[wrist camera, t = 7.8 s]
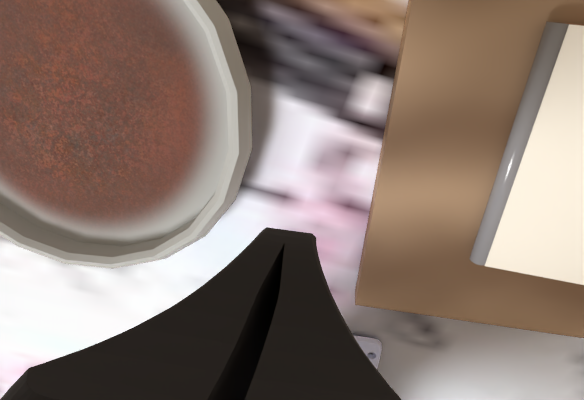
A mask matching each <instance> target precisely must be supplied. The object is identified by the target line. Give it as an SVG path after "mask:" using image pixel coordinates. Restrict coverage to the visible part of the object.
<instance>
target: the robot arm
mask: <svg viewBox="0 0 584 400" xmlns="http://www.w3.org/2000/svg"><path fill="white" fill-rule="evenodd" d="M371 352H372V353H374V354H369V353H371ZM381 352H382V344H381V342H380V341H379V340H378V339H375V338H368V337H362V336H355V335H352V333H351V331H350V330H349V328H348V326H347V324H346V323H345V321H344V319H343V317H342V315H341V313H340V311H339V309H338V307H337V305H336V303H335V301H334V299H333V297H332V294H331V292H330V290H329V287H328V285H327V282H326V279H325V276H324V274H323V271H322V268H321V264H320V261H319V257H318V252H317V247H316V237H315V236H314V235H313V234H311V233H303V232H296V231H288V230H281V229H273V228H265V229H264V230H263V231H262V232H261V233H260V234H259V235H258V236H257V237H256V238H255V239H254V240H253V241H252V242H251V243H250V244H249V245H248V246H247V247H246V248H245V249H244V250H243V251H242V252H241V253H240V254H239V255H238V256H237V257H236V258H235V259H234V260H233V261H232V262H231V263H230V264H228V265H227V266H226V267H225V268H224V269H223V270H222V271H220V272H219V273H218V274H217V275H215V276H214V277H213V278H212V279H210V280H209V281H208V282H207V283H205V284H204V285H203V286H202V287H200V288H199V289H198V290H196V291H195V292H193V293H192V294H191V295H189V296H188V297H186V298H185V299H183V300H182V301H180V302H179V303H177V304H175V305H174V306H172V307H171V308H169V309H167V310H165V311H164V312H162V313H160V314H158V315H156V316H154V317H152V318H151V319H149V320H147V321H145V322H143V323H141V324H140V325H138V326H136V327H134V328H131V329H129V330H127V331H125V332H123V333H121V334H119V335H116V336H114V337H112V338H109V339H107V340H105V341H102V342H100V343H98V344H95V345H93V346H90V347H88V348H85V349H83V350H80V351H77V352H74V353H71V354H69V355H66V356H63V357H60V358H57V359H54V360H52V361H49V362H46V363H43V364H40V365H37V366H34V367H31V368H29V369H28V370H27V371H26V372H25V373H24V374H23V375H22V376H21V377H20V378H19V379H18V380H17V381H16V382H15V383H14V384H13V385H12V386H11V388H10V389H9V390H8V391H7V392H6V393H5V395H4V396H3V397H2V398H1V399H0V400H401V399H400V397H399V396H398V395H397V394H396V393H395V392H394V391H393V389H392V388H391V387H390V386H389V385H388V384H387V382H386V381H385V380H384V378H383V377H382V376H381V374H380V373H379V372H378V370H377V368H378V364H379V360H380V356H381Z"/></svg>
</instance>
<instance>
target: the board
mask: <svg viewBox="0 0 584 400" xmlns="http://www.w3.org/2000/svg"><path fill="white" fill-rule="evenodd" d="M546 21H549V22H560V23H571V24H582V25H584V0H409V1H408V7H407V12H406V18H405V23H404V29H403V34H402V39H401V45H400V50H399V56H398V61H397V66H396V72H395V77H394V83H393V88H392V94H391V99H390V104H389V110H388V115H387V121H386V126H385V131H384V137H383V142H382V148H381V153H380V159H379V164H378V169H377V175H376V180H375V186H374V191H373V196H372V202H371V207H370V213H369V218H368V224H367V229H366V234H365V240H364V245H363V251H362V256H361V261H360V267H359V272H358V278H357V283H356V289H355V305H361V306H367V307H374V308H381V309H388V310H395V311H402V312H408V313H415V314H422V315H429V316H436V317H443V318H450V319H456V320H463V321H470V322H477V323H484V324H491V325H497V326H504V327H511V328H518V329H525V330H532V331H539V332H545V333H552V334H559V335H566V336H573V337H580V338H584V285H581V284H576V283H570V282H565V281H560V280H555V279H550V278H544V277H539V276H534V275H529V274H523V273H518V272H513V271H508V270H503V269H497V268H492V267H487V266H485V265H477V264H475V263H473V262H472V261H471V260H470V254H471V251H472V248H473V245H474V242H475V239H476V236H477V233H478V230H479V227H480V224H481V221H482V218H483V214H484V211H485V208H486V205H487V202H488V199H489V196H490V193H491V190H492V187H493V184H494V181H495V178H496V175H497V172H498V168H499V165H500V162H501V159H502V156H503V153H504V150H505V147H506V144H507V141H508V138H509V135H510V132H511V129H512V126H513V123H514V119H515V116H516V113H517V110H518V107H519V104H520V101H521V98H522V95H523V92H524V89H525V86H526V83H527V80H528V77H529V73H530V70H531V67H532V64H533V61H534V58H535V55H536V52H537V49H538V46H539V43H540V40H541V37H542V34H543V31H544V27H545V24H546Z"/></svg>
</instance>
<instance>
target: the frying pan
mask: <svg viewBox="0 0 584 400" xmlns="http://www.w3.org/2000/svg"><path fill="white" fill-rule="evenodd" d="M251 151H252V108H251V85H250V82H249V79H248V76H247V73H246V70H245V67H244V64H243V61H242V58H241V55H240V51H239V48H238V45H237V42H236V39H235V36H234V33H233V30H232V27H231V24H230V21H229V18H228V17H227V15H226V14H225V13H224V11H223V10H222V8H221V7H220V5H219V4H218V2H217V1H216V0H0V235H1V236H2V237H4V238H6V239H7V240H9V241H10V242H12V243H13V244H15V245H17V246H18V247H21V248H24V249H26V250H29V251H32V252H35V253H37V254H40V255H43V256H46V257H48V258H51V259H54V260H57V261H60V262H62V263H65V264H73V265H82V266H92V267H102V268H111V269H114V268H119V267H124V266H130V265H135V264H140V263H146V262H151V261H157V260H161V259H165V258H168V257H170V256H171V255H173V254H175V253H177V252H178V251H180V250H182V249H184V248H185V247H187V246H189V245H191V244H192V243H194V242H196V241H198V240H199V239H201V238H203V237H205V236H206V235H207V234H208V232H209V231H210V230H211V229H212V228H213V226H214V225H215V224H216V223H217V221H218V220H219V219H220V218H221V217H222V215H223V214H224V213H225V212H226V210H227V209H228V208H229V207H230V205H231V204H232V203H233V202H234V201H235V199H236V196H237V193H238V190H239V187H240V184H241V181H242V178H243V175H244V172H245V169H246V166H247V163H248V160H249V157H250V154H251Z"/></svg>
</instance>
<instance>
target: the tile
mask: <svg viewBox="0 0 584 400" xmlns="http://www.w3.org/2000/svg"><path fill="white" fill-rule="evenodd" d="M470 260H471V261H472V262H473V263H475V264H477V265H485V266H487V267H492V268H497V269H503V270H508V271H513V272H518V273H523V274H529V275H534V276H539V277H544V278H550V279H555V280H560V281H565V282H570V283H576V284H581V285H584V25H582V24H571V23H560V22H549V21H546V24H545V27H544V31H543V34H542V37H541V40H540V43H539V46H538V49H537V52H536V55H535V58H534V61H533V64H532V67H531V70H530V73H529V77H528V80H527V83H526V86H525V89H524V92H523V95H522V98H521V101H520V104H519V107H518V110H517V113H516V116H515V119H514V123H513V126H512V129H511V132H510V135H509V138H508V141H507V144H506V147H505V150H504V153H503V156H502V159H501V162H500V165H499V168H498V172H497V175H496V178H495V181H494V184H493V187H492V190H491V193H490V196H489V199H488V202H487V205H486V208H485V211H484V214H483V218H482V221H481V224H480V227H479V230H478V233H477V236H476V239H475V242H474V245H473V248H472V251H471V254H470Z"/></svg>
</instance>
